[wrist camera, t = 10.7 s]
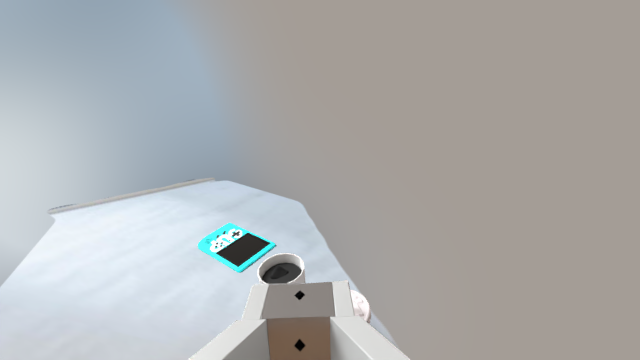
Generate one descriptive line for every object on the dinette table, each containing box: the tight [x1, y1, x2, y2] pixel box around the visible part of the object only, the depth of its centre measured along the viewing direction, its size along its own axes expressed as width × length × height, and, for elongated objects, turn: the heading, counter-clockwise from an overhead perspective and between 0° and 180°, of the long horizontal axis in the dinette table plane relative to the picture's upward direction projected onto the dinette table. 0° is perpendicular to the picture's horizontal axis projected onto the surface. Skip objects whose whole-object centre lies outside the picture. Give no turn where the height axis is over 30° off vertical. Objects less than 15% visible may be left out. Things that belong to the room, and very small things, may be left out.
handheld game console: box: [198, 223, 275, 272], centre depth 65 cm, size 10×16×1 cm, turn 52°
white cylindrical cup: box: [257, 253, 305, 284], centre depth 45 cm, size 7×7×10 cm
